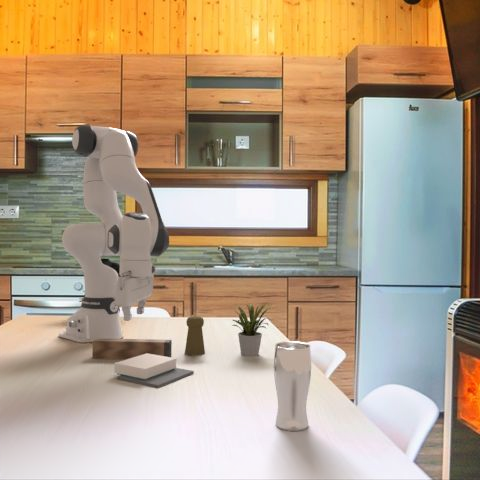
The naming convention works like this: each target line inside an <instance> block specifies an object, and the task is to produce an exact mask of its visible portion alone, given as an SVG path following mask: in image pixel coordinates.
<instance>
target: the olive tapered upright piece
mask: <svg viewBox="0 0 480 480" xmlns="http://www.w3.org/2000/svg"><path fill="white" fill-rule="evenodd" d="M204 323H205V319H204V318H203V317H202V316H201V315H200V316H199V315H191V316H188V317H187V319H186V326H187V327H188V328H187V336H186V343H185V349H184V354H185V355H189V356H201V355H204V354H206V350H205V341H204V335H203V334H204V333H203V326H204Z"/></svg>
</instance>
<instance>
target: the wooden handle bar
mask: <svg viewBox="0 0 480 480" xmlns="http://www.w3.org/2000/svg"><path fill="white" fill-rule="evenodd" d="M172 344H173V343H172V339H152V338H150V339H148V338H147V339H145V338H143V339H142V338H120V339H104V338H96V339H95V340H93V342H92V358H91V359H98V360H99V359H100V360H103V359H106V360H126V359H130V358H133V357H136V356H140V355H143V354H146V353H148V354H154V355H160V356H166V357H171V358H172Z"/></svg>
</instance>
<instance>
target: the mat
mask: <svg viewBox="0 0 480 480" xmlns="http://www.w3.org/2000/svg"><path fill="white" fill-rule="evenodd" d="M193 374H195V371H194V370H191V369H185V368H179V367H176V368H174V369H173V370H171V371H168V372H165V373H163V374H160V375H157V376H155V377H152V378H149V379H147V380H142V379H137V378H133V377H128V376H123V375H118V376H116V379H117V380H121V381H126V382H129V383H134V384H139V385H143V386H148V387H153V388H157V389H158V388H161V387H164V386H166V385H169V384H171V383H173V382H176V381H178V380H181V379H183V378H185V377H188V376H191V375H193Z"/></svg>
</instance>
